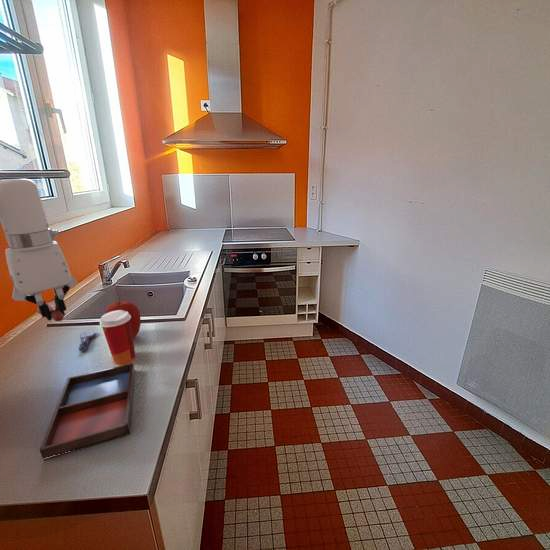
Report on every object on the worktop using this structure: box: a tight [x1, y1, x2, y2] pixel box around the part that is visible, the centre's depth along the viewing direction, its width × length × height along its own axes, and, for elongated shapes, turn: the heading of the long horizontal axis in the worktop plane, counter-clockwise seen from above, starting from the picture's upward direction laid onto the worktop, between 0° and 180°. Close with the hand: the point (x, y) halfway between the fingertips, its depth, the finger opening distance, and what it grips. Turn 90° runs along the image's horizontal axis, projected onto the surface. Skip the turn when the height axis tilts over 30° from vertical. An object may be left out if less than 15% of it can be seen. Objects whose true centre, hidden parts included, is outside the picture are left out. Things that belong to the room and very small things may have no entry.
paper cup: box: [99, 310, 136, 366], centre depth 84 cm, size 8×8×14 cm
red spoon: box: [36, 301, 65, 322], centre depth 71 cm, size 12×4×2 cm, turn 48°
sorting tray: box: [39, 362, 136, 459], centre depth 68 cm, size 15×22×3 cm
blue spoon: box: [78, 329, 97, 353], centre depth 95 cm, size 12×4×2 cm, turn 21°
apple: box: [104, 298, 142, 339], centre depth 94 cm, size 10×10×14 cm
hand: (55, 315), depth 70 cm, fingers closed on red spoon, 2 cm apart
